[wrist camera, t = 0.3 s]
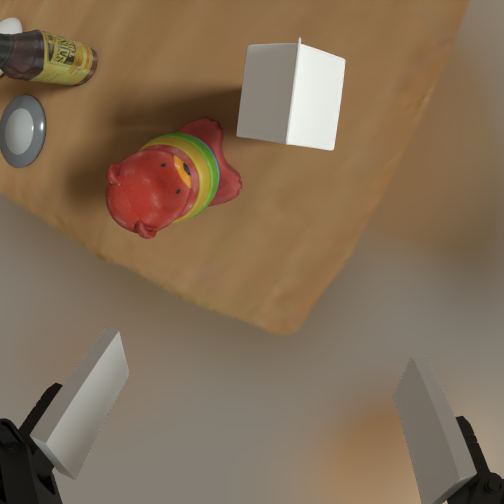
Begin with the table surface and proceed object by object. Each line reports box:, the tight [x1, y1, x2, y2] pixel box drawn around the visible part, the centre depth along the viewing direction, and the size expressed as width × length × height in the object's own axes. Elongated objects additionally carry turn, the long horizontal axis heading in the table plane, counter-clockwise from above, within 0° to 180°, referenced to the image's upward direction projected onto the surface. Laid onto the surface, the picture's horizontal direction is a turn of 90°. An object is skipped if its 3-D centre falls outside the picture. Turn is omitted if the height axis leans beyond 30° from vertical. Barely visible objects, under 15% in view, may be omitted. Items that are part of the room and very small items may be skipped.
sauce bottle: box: [0, 30, 97, 86], centre depth 23 cm, size 6×6×20 cm
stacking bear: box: [106, 118, 242, 239], centre depth 29 cm, size 11×10×18 cm
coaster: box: [0, 95, 46, 168], centre depth 36 cm, size 12×12×1 cm
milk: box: [236, 38, 345, 150], centre depth 24 cm, size 6×6×22 cm
